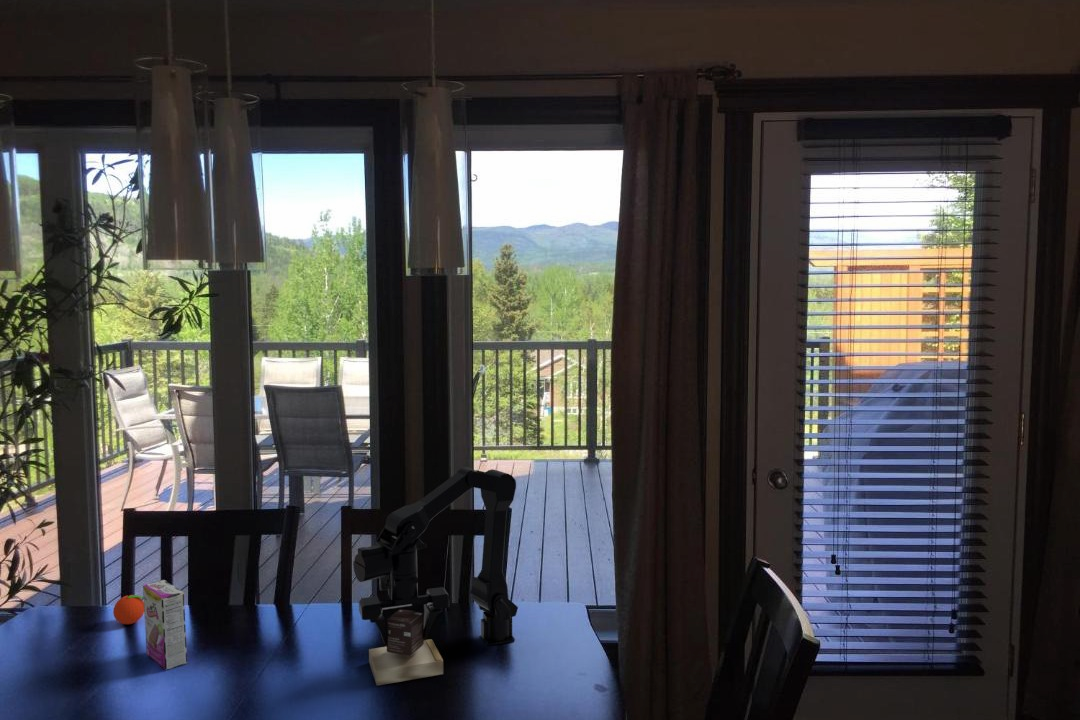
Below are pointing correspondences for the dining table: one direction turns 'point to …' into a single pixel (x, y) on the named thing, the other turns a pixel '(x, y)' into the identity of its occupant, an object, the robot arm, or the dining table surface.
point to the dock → (405, 664)
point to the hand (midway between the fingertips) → (405, 641)
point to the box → (405, 632)
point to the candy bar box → (165, 624)
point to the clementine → (129, 609)
